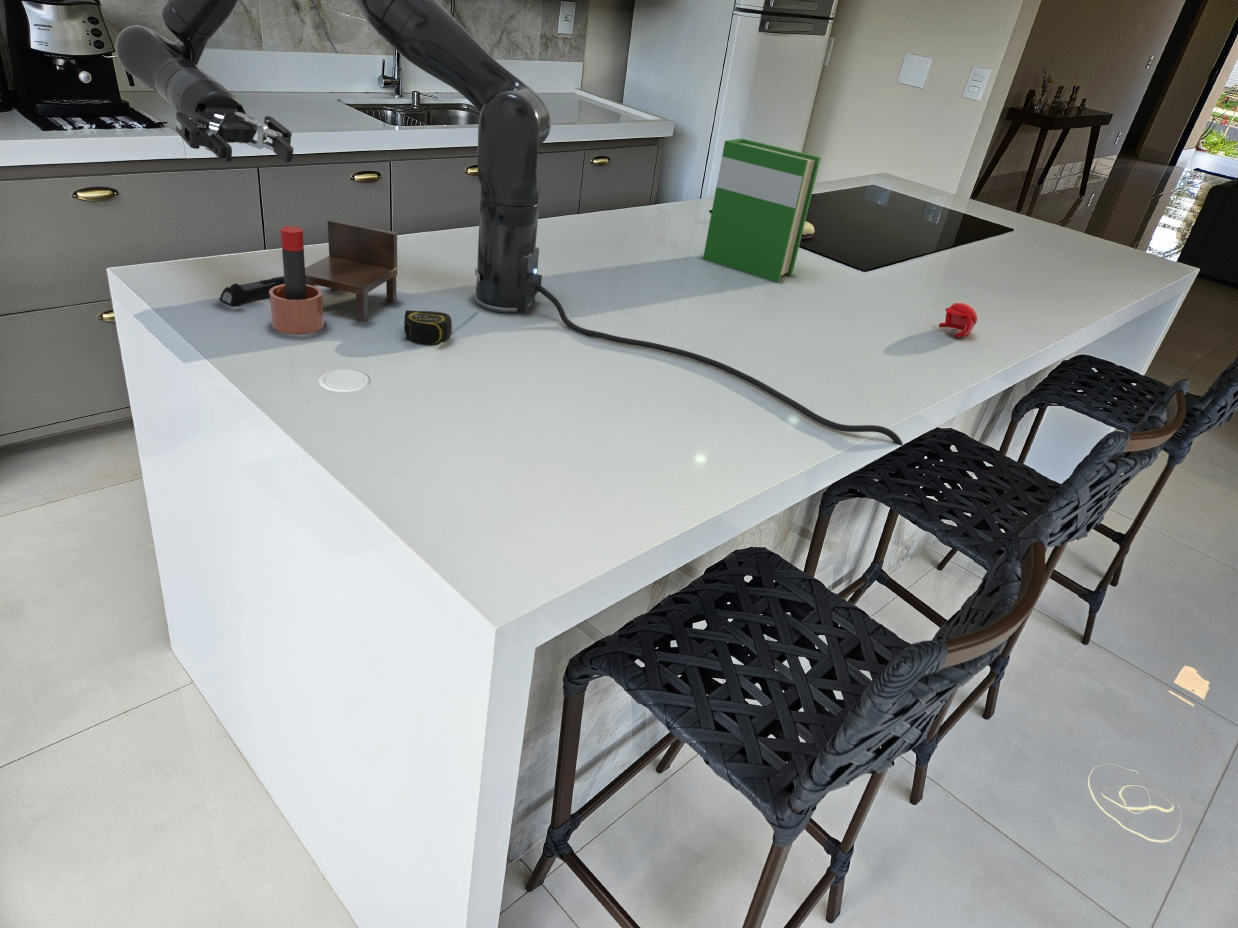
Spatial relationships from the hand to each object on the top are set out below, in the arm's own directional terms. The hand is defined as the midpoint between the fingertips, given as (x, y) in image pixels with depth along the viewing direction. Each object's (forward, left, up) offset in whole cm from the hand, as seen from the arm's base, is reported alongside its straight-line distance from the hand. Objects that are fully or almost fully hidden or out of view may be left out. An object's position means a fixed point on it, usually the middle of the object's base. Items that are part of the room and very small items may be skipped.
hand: (260, 155), depth 115 cm
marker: (-7, +5, -22) cm, 23 cm away
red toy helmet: (-107, -53, -22) cm, 122 cm away
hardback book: (-66, -70, -22) cm, 99 cm away
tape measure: (-24, -1, -22) cm, 33 cm away
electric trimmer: (+3, -4, -22) cm, 23 cm away
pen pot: (-7, +5, -22) cm, 24 cm away
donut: (-74, -105, -22) cm, 131 cm away
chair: (-9, -6, -22) cm, 25 cm away
